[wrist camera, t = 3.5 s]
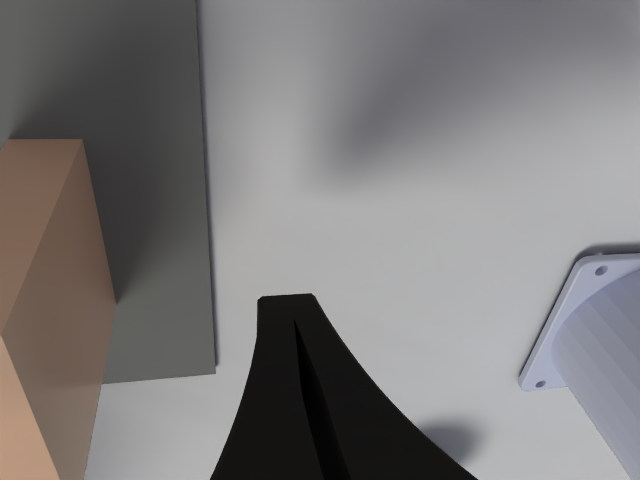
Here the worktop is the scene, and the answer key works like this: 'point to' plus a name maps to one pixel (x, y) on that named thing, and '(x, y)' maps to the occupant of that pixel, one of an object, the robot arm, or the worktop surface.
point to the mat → (126, 159)
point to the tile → (50, 309)
